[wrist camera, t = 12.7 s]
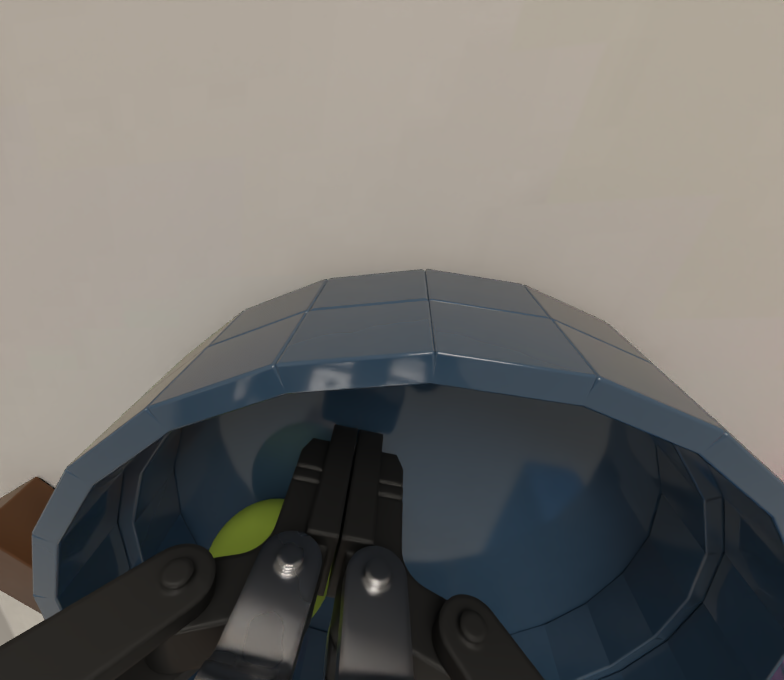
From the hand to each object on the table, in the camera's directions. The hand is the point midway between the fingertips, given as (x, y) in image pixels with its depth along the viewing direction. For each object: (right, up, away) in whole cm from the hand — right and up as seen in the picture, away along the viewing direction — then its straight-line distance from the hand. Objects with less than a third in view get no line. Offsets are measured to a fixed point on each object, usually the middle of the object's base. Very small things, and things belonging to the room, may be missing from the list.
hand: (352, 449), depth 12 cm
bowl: (+2, -3, +3) cm, 5 cm away
